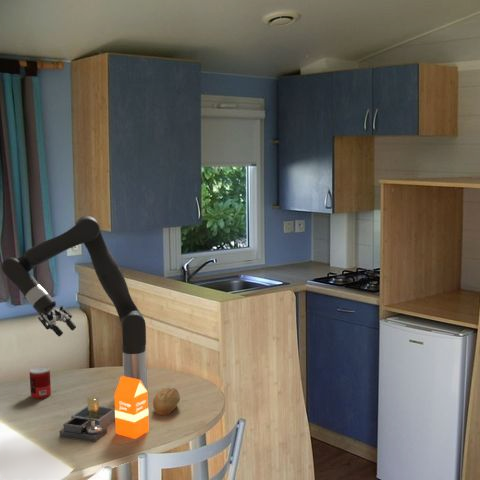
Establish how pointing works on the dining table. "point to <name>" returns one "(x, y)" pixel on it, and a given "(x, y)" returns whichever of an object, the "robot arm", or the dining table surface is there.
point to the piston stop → (93, 407)
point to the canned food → (40, 382)
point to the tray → (104, 415)
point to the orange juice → (131, 408)
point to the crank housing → (82, 429)
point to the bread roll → (166, 401)
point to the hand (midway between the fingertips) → (67, 331)
